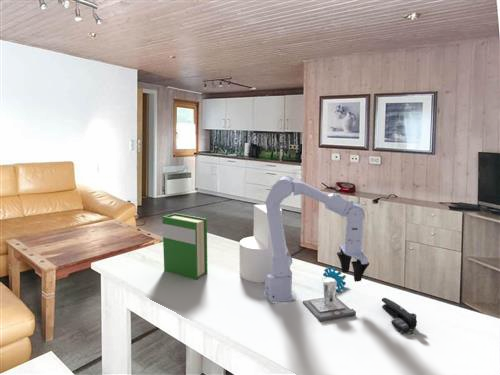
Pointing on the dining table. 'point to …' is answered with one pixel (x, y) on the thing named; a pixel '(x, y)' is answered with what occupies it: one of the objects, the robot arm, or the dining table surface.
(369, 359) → the dining table surface
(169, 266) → the hardback book
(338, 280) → the gear
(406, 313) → the can opener
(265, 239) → the white tall piece
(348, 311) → the scale base
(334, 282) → the milkshake
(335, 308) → the scale pan
